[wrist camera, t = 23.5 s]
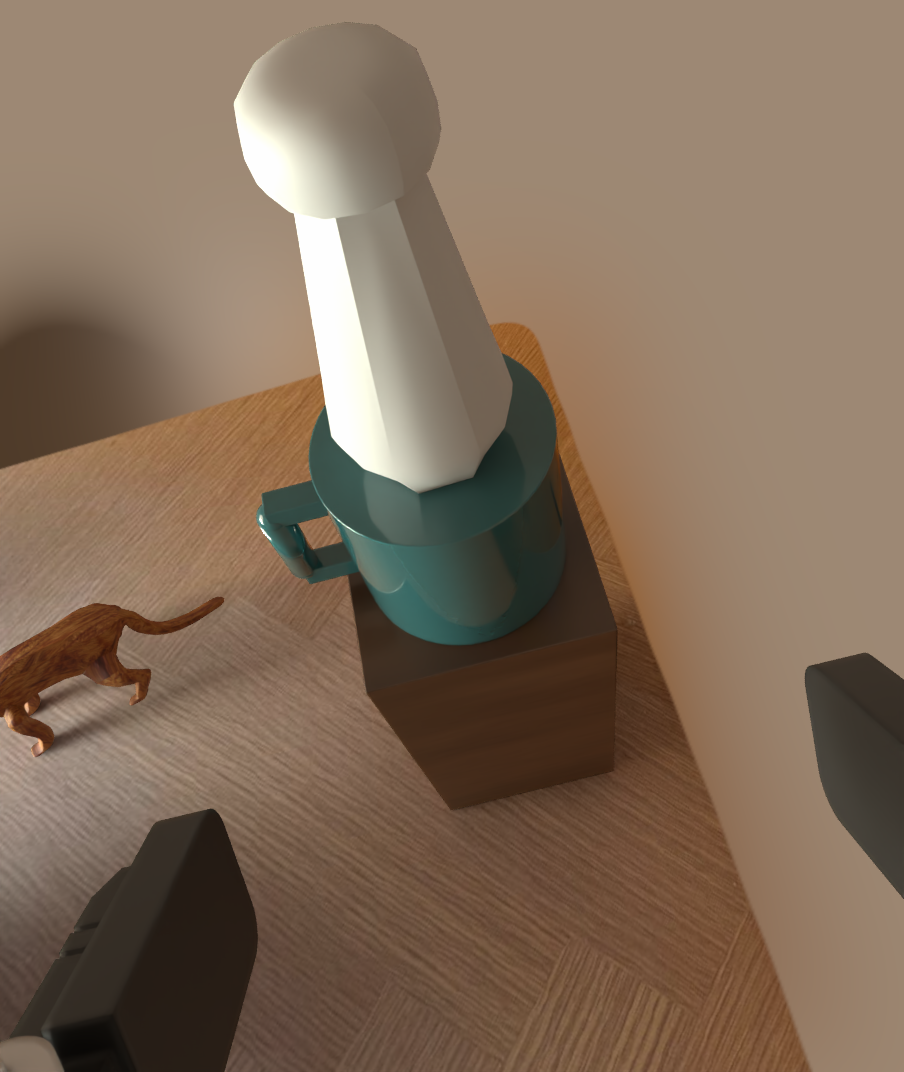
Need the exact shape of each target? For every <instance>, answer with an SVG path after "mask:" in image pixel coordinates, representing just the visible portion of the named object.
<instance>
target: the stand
mask: <svg viewBox="0 0 904 1072" xmlns="http://www.w3.org/2000/svg"><path fill="white" fill-rule="evenodd" d="M559 462H560V474H561V486H562V498H563V509H564V521H565V533H566V545H567V552H566V562H565V567H564V571H563V574H562V577H561V579H560V582H559V585H558V586H557V588H556V590H555V592H554V594H553V595H552V597H551V598H550V600H549V601H548V602H547V604H546V605H545V606H544V607H543V608H542V609H541V610H540V611H539V612H538V613H537V614H536V616H534V617H533V618H532V619H531V620H529V621H528V622H527V623H526V624H524V625H523V626H521V627H519V628H518V629H516V630H514V631H513V632H511V633H509V634H506V635H504V636H502V637H500V638H497V639H494V640H490V641H487V642H483V643H477V644H472V645H444V644H439V643H434V642H430V641H426V640H423V639H420V638H418V637H416V636H414V635H411V634H409V633H407V632H406V631H404V630H403V629H401V628H400V627H398V626H397V625H395V624H394V623H393V622H392V621H391V620H390V619H389V618H388V617H387V616H386V615H385V614H384V613H383V612H382V610H381V609H380V608H379V606H378V605H377V603H376V601H375V600H374V598H373V596H372V594H371V593H370V591H369V589H368V587H367V585H366V583H365V582H364V580H363V578H362V576H361V574H360V572H356V573H352V574H349V575H347V577H348V583H349V590H350V596H351V603H352V609H353V615H354V622H355V628H356V635H357V641H358V648H359V654H360V661H361V667H362V673H363V680H364V686H365V692H366V693H367V695H368V696H369V698H370V699H371V700H372V702H373V703H374V704H375V706H376V707H377V709H378V710H379V711H380V713H381V714H382V716H383V717H384V718H385V720H386V721H387V722H388V724H389V725H390V727H391V728H392V729H393V731H394V732H395V734H396V735H397V736H398V738H399V739H400V741H401V742H402V743H403V745H404V746H405V747H406V749H407V750H408V752H409V753H410V754H411V756H412V757H413V759H414V760H415V761H416V763H417V764H418V766H419V767H420V768H421V770H422V771H423V772H424V774H425V775H426V777H427V778H428V779H429V781H430V782H431V784H432V785H433V786H434V788H435V789H436V790H437V792H438V793H439V795H440V796H441V797H442V799H443V800H444V802H445V803H446V804H447V806H448V807H449V809H450V810H456V809H460V808H464V807H468V806H472V805H476V804H480V803H484V802H488V801H492V800H496V799H501V798H505V797H509V796H513V795H517V794H521V793H525V792H529V791H533V790H537V789H541V788H545V787H549V786H554V785H558V784H562V783H566V782H570V781H574V780H578V779H582V778H586V777H590V776H594V775H598V774H602V773H607V772H611V771H614V745H615V705H616V665H617V626H616V623H615V620H614V617H613V614H612V611H611V608H610V605H609V601H608V598H607V595H606V592H605V589H604V586H603V583H602V580H601V577H600V574H599V571H598V568H597V565H596V562H595V559H594V556H593V553H592V550H591V547H590V544H589V541H588V538H587V535H586V532H585V529H584V526H583V523H582V520H581V517H580V514H579V511H578V508H577V505H576V502H575V499H574V496H573V493H572V490H571V487H570V484H569V481H568V478H567V475H566V472H565V469H564V466H563V463H562V460H561V457H560V454H559ZM342 542H343V541H342Z"/></svg>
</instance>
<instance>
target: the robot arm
mask: <svg viewBox="0 0 904 1072" xmlns="http://www.w3.org/2000/svg"><path fill="white" fill-rule="evenodd" d="M805 687H806V693H807V700H808V706H809V712H810V718H811V725H812V731H813V737H814V744H815V749H816V756H817V762H818V768H819V774H820V778H821V782H822V785H823V788H824V791H825V794H826V797H827V799H828V801H829V803H830V806H831V807H832V809H833V811H834V813H835V815H836V816H837V818H838V820H839V821H840V822H841V823H842V825H843V826H844V827H845V828H846V830H847V831H848V832H849V833H850V834H851V836H852V837H853V838H854V839H855V840H856V841H857V843H858V844H859V845H860V846H861V848H862V849H863V850H864V851H865V853H866V854H867V855H868V856H869V857H870V859H871V860H872V861H873V862H874V863H875V865H876V866H877V867H878V868H879V870H880V871H881V872H882V873H883V874H884V875H885V877H886V878H887V879H888V880H889V882H890V883H891V884H892V885H893V887H894V888H895V889H896V890H897V891H898V893H899V894H900V895H901V896H902V898H903V899H904V680H903V679H902V678H901V677H900V676H898V675H897V674H896V673H894V672H893V671H891V670H890V669H889V668H888V667H886V666H884V664H882V663H881V662H880V661H878V660H877V659H875V658H874V657H873V656H871V655H870V654H868V653H861V654H857V655H853V656H849V657H845V658H841V659H836V660H833V661H828V662H824V663H820V664H816V665H811V666H809V667H807V669H806V672H805ZM74 930H75V932H74V933H71V934H70V935H69V937H68V939H67V940H66V942H65V944H64V945H63V947H62V949H61V951H60V952H59V954H60V958H59V959H55V961H54V963H53V964H52V966H51V968H50V969H49V971H48V973H47V974H46V976H45V978H44V980H43V981H42V983H41V985H40V986H39V988H38V990H37V991H36V993H35V995H34V997H33V998H32V1000H31V1002H30V1003H29V1005H28V1007H27V1008H26V1010H25V1012H24V1014H23V1015H22V1017H21V1019H20V1020H19V1022H18V1024H17V1025H16V1027H15V1029H14V1031H13V1032H12V1034H11V1036H10V1037H9V1039H7V1040H3V1041H1V1042H0V1072H225V1068H226V1064H227V1061H228V1057H229V1053H230V1050H231V1046H232V1042H233V1039H234V1035H235V1031H236V1028H237V1024H238V1020H239V1017H240V1013H241V1009H242V1006H243V1002H244V999H245V995H246V991H247V988H248V984H249V980H250V977H251V973H252V969H253V966H254V962H255V958H256V954H257V944H258V933H257V922H256V916H255V911H254V907H253V904H252V901H251V898H250V895H249V893H248V890H247V887H246V884H245V881H244V879H243V876H242V873H241V870H240V867H239V865H238V862H237V859H236V856H235V853H234V851H233V848H232V845H231V842H230V839H229V837H228V834H227V831H226V828H225V826H224V823H223V821H222V819H221V817H220V815H219V814H218V813H217V812H216V811H215V810H214V809H207V810H203V811H199V812H194V813H190V814H186V815H182V816H178V817H174V818H169V819H165V820H161V821H158V822H156V823H155V824H154V825H153V827H152V828H151V830H150V832H149V834H148V835H147V837H146V839H145V841H144V843H143V845H142V846H141V848H140V850H139V852H138V854H137V855H136V857H135V859H134V861H133V863H132V865H131V866H129V867H125V868H122V869H121V870H120V871H118V872H117V873H116V874H115V875H114V876H113V877H112V878H111V879H110V880H109V881H108V882H107V883H106V884H105V885H104V886H103V887H102V888H101V889H100V890H99V891H98V892H97V893H96V894H95V895H94V896H93V897H92V898H91V900H90V901H89V903H88V905H87V906H86V908H85V910H84V911H83V913H82V915H81V917H80V918H79V920H78V922H77V923H76V925H75V927H74Z"/></svg>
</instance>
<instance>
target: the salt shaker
mask: <svg viewBox="0 0 904 1072" xmlns="http://www.w3.org/2000/svg"><path fill="white" fill-rule="evenodd" d="M234 109H235V115H236V121H237V127H238V132H239V136H240V141H241V146H242V150H243V155H244V159H245V161H246V163H247V165H248V167H249V169H250V171H251V173H252V175H253V177H254V179H255V181H256V183H257V184H258V186H259V187H260V188H261V189H262V190H263V191H264V192H265V193H266V194H267V195H268V196H270V197H271V198H272V199H273V200H275V201H276V202H277V203H279V204H280V205H281V206H282V207H284V208H285V209H286V210H287V211H289V212H291V213H294V216H295V222H296V227H297V234H298V240H299V246H300V251H301V258H302V263H303V269H304V275H305V281H306V287H307V293H308V299H309V304H310V311H311V317H312V323H313V329H314V335H315V341H316V345H317V353H318V359H319V365H320V370H321V376H322V382H323V389H324V396H325V403H326V409H327V414H328V420H329V425H330V431H331V436H332V438H333V439H334V440H335V441H336V442H337V444H338V445H339V446H340V447H341V448H342V449H343V450H344V451H345V452H346V453H347V454H348V455H349V456H351V457H352V458H353V459H354V460H355V461H356V462H357V463H358V464H359V465H360V466H361V467H362V468H363V469H365V470H368V471H370V472H373V473H376V474H379V475H382V476H384V477H387V478H390V479H393V480H396V481H398V482H400V483H402V484H403V485H405V486H407V487H408V488H410V489H412V490H414V491H415V492H417V493H423V492H426V491H429V490H433V489H436V488H439V487H443V486H446V485H450V484H453V483H456V482H460V481H463V480H466V479H470V478H473V477H474V475H475V473H476V471H477V469H478V467H479V465H480V463H481V461H482V459H483V457H484V455H485V454H486V452H487V451H488V450H489V448H490V447H491V446H492V444H493V443H494V441H495V440H496V439H497V437H498V436H499V435H500V433H501V432H502V431H503V429H504V428H505V424H506V420H507V415H508V410H509V406H510V401H511V397H512V385H513V382H512V380H511V377H510V374H509V372H508V369H507V366H506V364H505V361H504V359H503V356H502V353H501V351H500V349H499V346H498V344H497V342H496V340H495V337H494V335H493V333H492V331H491V328H490V326H489V324H488V322H487V319H486V317H485V314H484V312H483V310H482V307H481V305H480V302H479V300H478V297H477V295H476V293H475V290H474V288H473V285H472V283H471V281H470V278H469V276H468V273H467V271H466V268H465V266H464V264H463V261H462V259H461V256H460V254H459V251H458V249H457V247H456V244H455V242H454V239H453V237H452V234H451V232H450V230H449V227H448V225H447V222H446V220H445V217H444V215H443V213H442V210H441V208H440V205H439V203H438V200H437V198H436V196H435V193H434V191H433V188H432V186H431V183H430V181H429V179H428V177H427V174H426V173H427V172H428V171H429V170H430V168H431V165H432V162H433V159H434V155H435V153H436V150H437V147H438V144H439V138H440V132H441V124H440V117H439V110H438V102H437V99H436V96H435V93H434V91H433V88H432V85H431V83H430V81H429V77H428V75H427V72H426V70H425V67H424V65H423V63H422V61H421V58H420V56H419V54H418V52H417V49H416V48H415V47H413V46H412V45H410V44H408V43H406V42H405V41H403V40H402V39H400V38H398V37H397V36H395V35H393V34H392V33H390V32H388V31H387V30H385V29H383V28H381V27H380V26H378V25H371V24H360V23H351V22H344V23H337V24H331V25H325V26H319V27H313V28H310V29H308V30H305V31H303V32H301V33H299V34H296V35H294V36H292V37H290V38H288V39H285V40H283V41H281V42H279V43H278V44H276V45H275V46H274V47H273V48H272V49H270V50H269V51H268V52H267V53H265V54H264V55H263V56H262V57H261V58H259V59H258V60H257V61H256V62H255V63H254V64H253V66H252V68H251V70H250V72H249V74H248V75H247V77H246V79H245V81H244V83H243V85H242V87H241V90H240V92H239V94H238V96H237V98H236V100H235V102H234Z"/></svg>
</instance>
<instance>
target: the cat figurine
mask: <svg viewBox="0 0 904 1072" xmlns="http://www.w3.org/2000/svg"><path fill="white" fill-rule="evenodd" d="M223 602H224V598H223V597H215V598H213V599H211V600H209V601H208V602H206V603H204V604H203V605H201V606H199V607H198V608H196V609H194V610H192V611H191V612H189V613H187V614H185V615H182V616H180V617H178V618H174V619H171V620H168V621H163V622H155V621H150V620H147V619H145V618H143V617H142V616H140V615H139V614H137V613H136V612H133V611H129V610H125V609H121V608H120V607H119V606H116V605H106V604H99V603H94V604H91V605H88V606H86V607H82V608H80V609H78V610H76V611H74V612H72V613H71V614H69V615H68V616H66V617H65V618H63V619H62V620H60V621H59V622H57V623H56V624H54V625H53V626H51V627H49V628H48V629H46V630H44V631H42V632H41V633H39V634H37V635H35V636H33V637H32V638H30V639H28V640H26V641H25V642H23V643H21V644H19V645H17V646H16V647H14V648H12V649H10V650H9V651H7V652H6V653H4V654H3V655H1V656H0V717H4V718H5V720H6V721H7V724H8V726H9V728H11V729H12V730H13V731H15V732H18V733H20V734H23V735H27V736H32V737H36V738H38V740H39V741H38V743H36V744H35V745H34V746H33V747H32V748H31V752H32V755H33V756H34V757H37V756H40V755H41V754H42V753H44V752H45V751H46V750H47V749H48V748H49V747H50V746H51V745H52V743H53V741H54V734H53V731H52V729H51V728H50V727H49V726H47V725H46V724H44V723H42V722H40V721H38V720H36V719H33V718H31V717H30V715H31V714H32V713H34V712H35V711H36V710H37V708H38V707H39V704H40V697H39V695H38V693H39V692H41V691H42V690H44V689H46V688H48V687H50V686H52V685H54V684H56V683H58V682H60V681H62V680H64V679H67V678H70V677H74V676H77V675H81V674H84V675H85V676H87V677H89V678H90V679H92V680H93V681H94V682H95V683H97V684H101V685H105V686H113V687H121V686H126V685H131V684H135V685H136V694H135V695H134V696H133V697H131V699H130V702H129V704H130V705H134V704H136V703H138V702H140V701H142V700H143V699H144V698H145V697H146V695H147V692H148V686H149V683H150V679H151V670H150V669H126V668H125V667H124V666H123V665H122V664H121V663H120V662H119V660H118V657H117V655H116V653H117V647H118V641H119V638H120V637H121V635H122V630H123V628H124V625H127V626H128V627H129V628H131V629H132V630H134V631H136V632H139V633H144V634H152V635H161V634H168V633H172V632H175V631H178V630H180V629H183V628H185V627H187V626H189V625H191V624H193V623H195V622H196V621H198V620H200V619H201V618H203V617H204V616H206V615H207V614H209V613H210V612H212V611H213V610H215V609H217V608H218V607H219V606H221V605H222V603H223Z"/></svg>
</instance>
